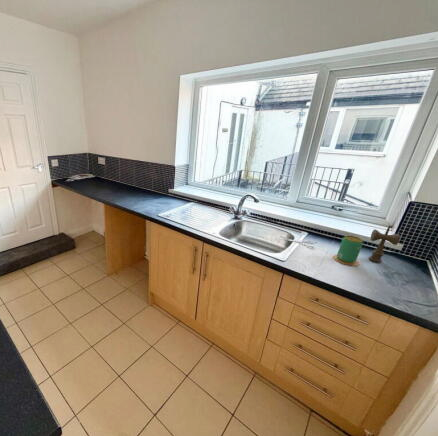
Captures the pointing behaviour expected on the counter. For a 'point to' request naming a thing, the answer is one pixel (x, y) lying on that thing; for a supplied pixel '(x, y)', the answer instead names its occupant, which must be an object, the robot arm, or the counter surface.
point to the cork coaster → (346, 262)
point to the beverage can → (349, 249)
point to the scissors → (302, 243)
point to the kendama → (382, 243)
